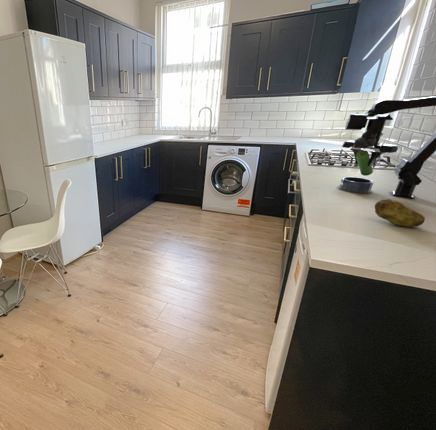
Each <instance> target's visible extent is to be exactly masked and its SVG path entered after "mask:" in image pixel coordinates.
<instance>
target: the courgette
mask: <svg viewBox="0 0 436 430" xmlns="http://www.w3.org/2000/svg"><path fill="white" fill-rule="evenodd" d="M370 157H371V156H370V153H369V151H368V150H366V149H364V150H363V151H359V152H357V153H356V159H357V162H358V164H357V166H358V169H359V171H360V175H362V176H370V175H372V174H373V173H374V169H373V164H371V165H370V166H368V162H369V160H370Z"/></svg>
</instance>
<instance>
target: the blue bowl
mask: <svg viewBox="0 0 436 430" xmlns="http://www.w3.org/2000/svg"><path fill="white" fill-rule="evenodd" d="M373 185H374V180H371V179H368V178H363V177H356V176H343V177H341V180H340V183H339V186H338V189H340V190H341V191H344V192H348V193H353V194H370V193H371V190H372V188H373Z"/></svg>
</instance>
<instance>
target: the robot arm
mask: <svg viewBox="0 0 436 430" xmlns="http://www.w3.org/2000/svg"><path fill="white" fill-rule="evenodd" d="M428 107H429V108H430V107H436V96H428V97H427V96H426V97H419V98H410V99H402V100H399V99H396V100H395V99H381V100H377V101H375V102H374V103H373V104H372V105H371V108H370V109H369V110H368V111H367V112H365V113H364V114H355V113H350V114H349V116H348V119H347V121H346V123H345V128H344V129H345V131H346V130H347V131H348V130H349V131H362V130H363V129H365V131H364V132H362V134H361V136H360V137H357V138H356V139H355V140H346V141H344V142H343V143H342V144H341V145H342V146H341V148H345V149H346V148H347V149H349V150H350V151H352V152H353V155H354V161H355V162H354V163H355V165H357V166H358V162H357V159H356V153H357V152H359V151H363V150H366V149H367V150H368V149H369V150H374V151H370V153H371V154H370V156H369V157H370V160H369V162H368V166H370V165H373V163H374V162H375V161H376V160H377V159H378V158H380V156H382V154H386V153H387V154H392V153H397V152H398V149H399V147H398V145H396V144H381V142H380V139H381V137H382V136H383V135H384V133H383V131H384V127H385V124H386V122H387V121H393V120H394V118H393V117H392V116H391V113H394V112H398V111H402V110H409V109H420V108H428ZM380 144H381V145H380ZM434 153H436V132H435V133H434V134H433V135H432V136H431V138H429V139H428V140H427V141H426V142H425V144H423V145H422V147H421V148H419V149H418V151H416V152H415V154H414V155H412V156H411V157H410V158H408V159H405V158H402V159H401V160H400V162H399V163H398V164H397V165H395V169H394V174H395V176H396V177H397V180H399V181H398V182H397V185H396V187H395V190H393V191H392V196H393V197H394V196H395V197H402V198H408V199H414V195H413V194H414V192H415V190H416V186H419V185H420V184H421V183H422V181H423V180H422V179H421V178H420V176H419V175H418V174H419V173H420V171H421V170H422V168H423V165H425V164H424V163H425V162H426V161H427V160H428V159H429V158H430V157H431V156H432V155H433V154H434Z"/></svg>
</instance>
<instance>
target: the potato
mask: <svg viewBox="0 0 436 430" xmlns="http://www.w3.org/2000/svg"><path fill="white" fill-rule="evenodd" d="M374 213H375V214H376V215H377V216H378V217H379V218H381V219H383V220H385V221H387V222H389V223H390V224H393V225H395V226H399V227H406V228H407V227H408V228H410V227H411V228H413V227H419V226H422V225H423V224H424V223H425V220H426V218H425V216H424V215H423V214H421V213H420V212H418V211H416V210H414V209H411V208H409V207H408V206H406V205H405V204H403V203H402V202H400V201H398V200H394V199H390V198H388V199H387V198H385V199H380V200H378V201H377V202H376V203H375V204H374Z"/></svg>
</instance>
